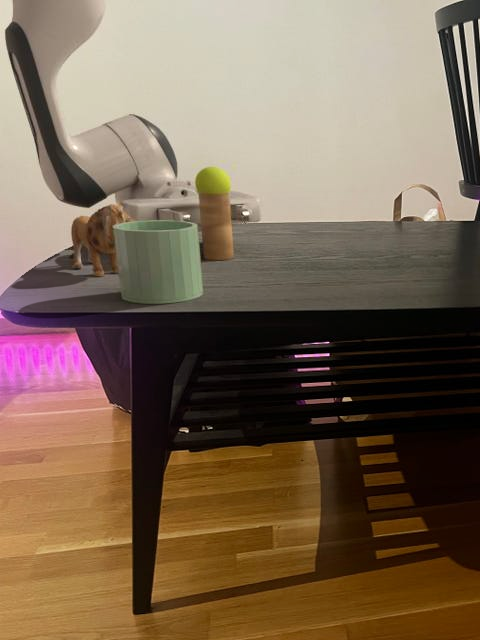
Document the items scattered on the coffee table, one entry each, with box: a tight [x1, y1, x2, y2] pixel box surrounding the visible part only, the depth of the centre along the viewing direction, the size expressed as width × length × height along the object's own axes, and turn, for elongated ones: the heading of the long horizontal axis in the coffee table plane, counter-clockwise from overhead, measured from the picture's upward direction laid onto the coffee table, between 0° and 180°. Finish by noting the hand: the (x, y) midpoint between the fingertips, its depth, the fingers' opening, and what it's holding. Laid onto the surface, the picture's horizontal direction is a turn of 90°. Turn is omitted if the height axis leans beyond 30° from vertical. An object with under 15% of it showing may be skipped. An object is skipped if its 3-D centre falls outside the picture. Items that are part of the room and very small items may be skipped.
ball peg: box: [194, 166, 235, 261], centre depth 102 cm, size 5×5×13 cm
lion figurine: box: [67, 203, 136, 278], centre depth 91 cm, size 15×5×9 cm, turn 57°
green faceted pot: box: [112, 220, 204, 305], centre depth 80 cm, size 9×9×8 cm
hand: (217, 217), depth 101 cm, fingers open, 8 cm apart
